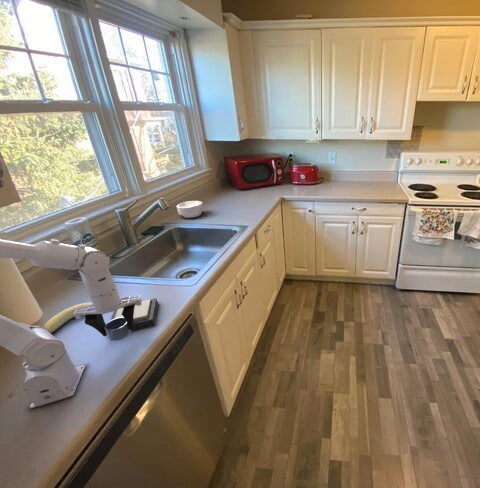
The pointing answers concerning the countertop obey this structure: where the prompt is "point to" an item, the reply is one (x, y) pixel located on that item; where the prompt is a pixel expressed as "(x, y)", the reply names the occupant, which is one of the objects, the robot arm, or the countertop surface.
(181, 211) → the paper bowls
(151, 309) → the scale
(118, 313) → the platform
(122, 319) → the bowl
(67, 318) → the fruit
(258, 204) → the countertop surface
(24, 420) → the countertop surface
